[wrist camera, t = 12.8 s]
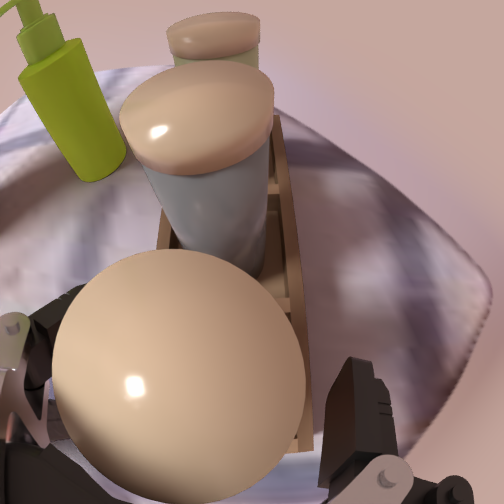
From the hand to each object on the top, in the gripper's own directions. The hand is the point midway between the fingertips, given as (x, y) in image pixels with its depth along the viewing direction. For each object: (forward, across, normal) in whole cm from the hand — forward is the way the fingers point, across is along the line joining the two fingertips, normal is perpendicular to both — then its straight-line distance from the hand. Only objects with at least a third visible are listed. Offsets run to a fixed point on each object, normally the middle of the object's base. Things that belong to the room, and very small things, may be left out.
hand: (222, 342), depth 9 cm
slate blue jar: (+9, +3, +1) cm, 10 cm away
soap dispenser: (+15, +20, -2) cm, 25 cm away
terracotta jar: (+4, 0, +6) cm, 7 cm away
